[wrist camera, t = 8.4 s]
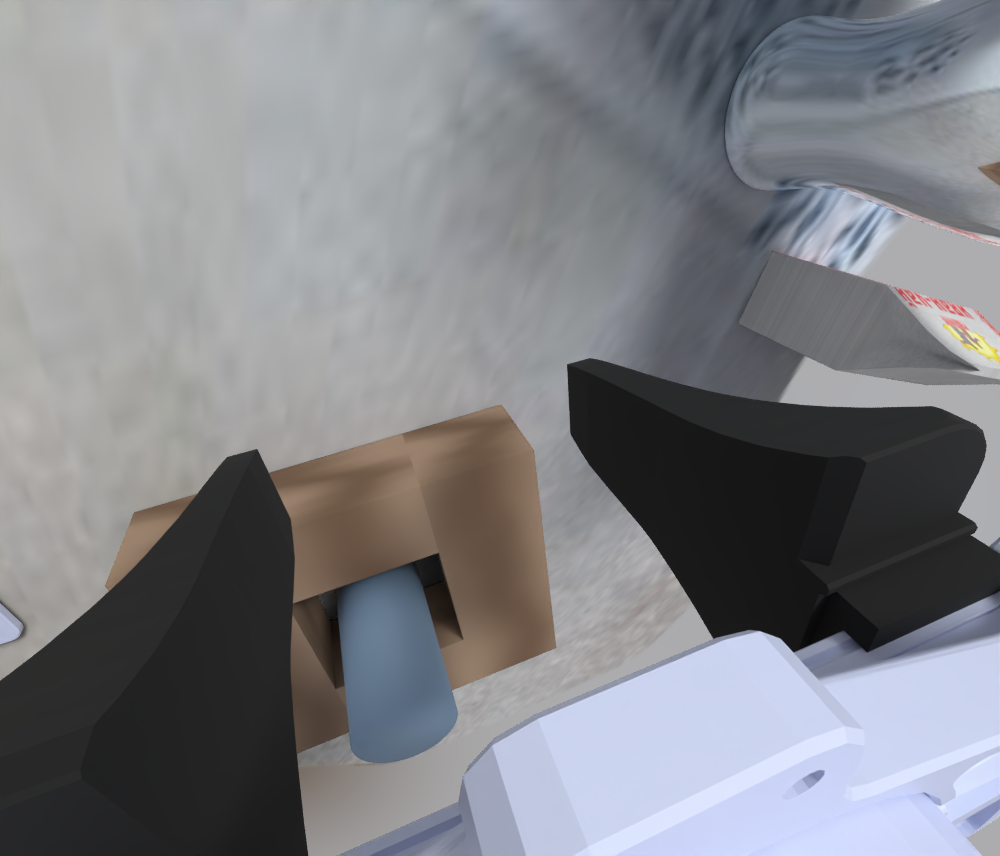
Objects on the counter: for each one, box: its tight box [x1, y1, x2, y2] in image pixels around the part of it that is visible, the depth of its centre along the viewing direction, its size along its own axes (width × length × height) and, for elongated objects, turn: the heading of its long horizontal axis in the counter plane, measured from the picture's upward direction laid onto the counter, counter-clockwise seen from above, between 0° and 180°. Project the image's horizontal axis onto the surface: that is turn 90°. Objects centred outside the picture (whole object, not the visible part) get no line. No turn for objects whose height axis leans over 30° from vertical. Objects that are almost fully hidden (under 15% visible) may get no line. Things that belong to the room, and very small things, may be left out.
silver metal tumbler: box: [725, 0, 1000, 246], centre depth 15 cm, size 7×7×15 cm
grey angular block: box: [738, 251, 1000, 385], centre depth 23 cm, size 4×7×10 cm, turn 76°
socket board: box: [105, 405, 556, 753], centre depth 25 cm, size 16×14×4 cm
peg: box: [335, 561, 458, 763], centre depth 23 cm, size 4×4×9 cm
